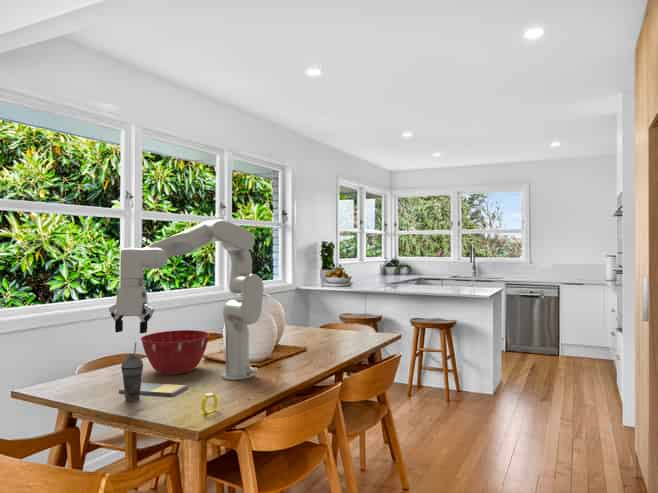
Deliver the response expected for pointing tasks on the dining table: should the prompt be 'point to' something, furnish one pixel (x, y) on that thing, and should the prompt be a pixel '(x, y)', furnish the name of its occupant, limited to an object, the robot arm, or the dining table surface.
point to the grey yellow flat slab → (159, 389)
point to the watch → (205, 402)
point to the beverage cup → (132, 376)
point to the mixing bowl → (175, 350)
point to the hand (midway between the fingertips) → (131, 332)
